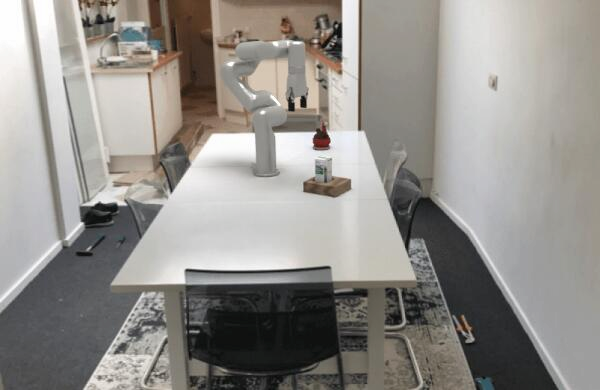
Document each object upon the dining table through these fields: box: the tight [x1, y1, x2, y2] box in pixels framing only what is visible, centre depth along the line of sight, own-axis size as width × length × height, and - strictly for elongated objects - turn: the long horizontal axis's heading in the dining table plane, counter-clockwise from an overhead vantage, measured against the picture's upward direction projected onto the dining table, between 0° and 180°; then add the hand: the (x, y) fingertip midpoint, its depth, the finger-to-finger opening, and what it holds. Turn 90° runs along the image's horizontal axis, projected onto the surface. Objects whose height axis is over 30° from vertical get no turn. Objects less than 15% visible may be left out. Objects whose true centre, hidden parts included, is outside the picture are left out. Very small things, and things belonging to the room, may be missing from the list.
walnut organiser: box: [302, 175, 352, 198], centre depth 284 cm, size 16×14×4 cm
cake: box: [312, 115, 332, 151], centre depth 356 cm, size 11×9×18 cm
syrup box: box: [314, 155, 333, 183], centre depth 284 cm, size 6×6×14 cm
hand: (297, 109), depth 288 cm, fingers open, 9 cm apart
